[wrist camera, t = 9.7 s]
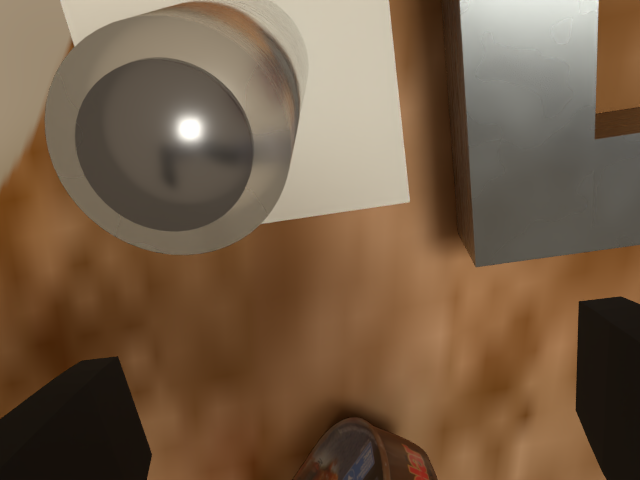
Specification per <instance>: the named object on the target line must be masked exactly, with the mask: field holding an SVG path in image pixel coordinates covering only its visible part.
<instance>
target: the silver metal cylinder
mask: <svg viewBox="0 0 640 480" xmlns="http://www.w3.org/2000/svg"><path fill="white" fill-rule="evenodd" d="M308 72H309V62H308V54H307V50H306V46H305V42H304V40H303V37H302V35H301V33H300V31H299V29H298V27H297V26H296V24H295V23H294V22H293V20H292V19H291V18H290V16H289V15H288V14H287V13H286V12H285V11H284V10H283V9H281V8H280V7H279V6H278V5H277V4H275V3H273V2H272V1H270V0H191V1H187V2H184V3H180V4H176V5H173V6H169V7H166V8H162V9H158V10H155V11H151V12H148V13H144V14H140V15H137V16H133V17H130V18H126V19H123V20H119V21H115V22H112V23H110V24H108V25H106V26H104V27H101V28H99V29H97V30H96V31H94V32H93V33H91V34H90V35H88V36H87V37H85V38H84V39H83V40H82V41H80V42H79V43H78V44H77V45H76V46H75V47H74V48H73V49H72V50H71V51H70V53H69V54H68V55H67V56H66V57H65V59H64V60H63V61H62V63H61V65H60V67H59V68H58V70H57V72H56V74H55V76H54V78H53V81H52V83H51V86H50V89H49V93H48V97H47V102H46V109H45V134H46V140H47V146H48V151H49V154H50V157H51V160H52V163H53V166H54V168H55V171H56V173H57V175H58V177H59V179H60V181H61V183H62V184H63V186H64V188H65V189H66V191H67V192H68V194H69V195H70V197H71V198H72V199H73V200H74V202H75V203H76V204H77V206H78V207H79V208H80V209H81V210H82V211H83V212H84V213H85V214H86V215H87V216H88V217H89V218H90V219H91V220H93V221H94V222H95V223H96V224H97V225H99V226H100V227H101V228H103V229H104V230H106V231H107V232H109V233H110V234H112V235H113V236H115V237H117V238H119V239H121V240H123V241H125V242H127V243H129V244H131V245H134V246H137V247H139V248H142V249H145V250H149V251H153V252H157V253H164V254H171V255H192V254H202V253H206V252H211V251H215V250H218V249H221V248H224V247H226V246H229V245H231V244H233V243H235V242H237V241H239V240H241V239H242V238H244V237H245V236H247V235H248V234H249V233H251V232H252V231H253V230H255V229H256V228H257V227H258V226H259V225H260V224H261V223H262V222H263V221H264V220H265V219H266V217H267V216H268V215H269V214H270V213H271V211H272V210H273V208H274V207H275V205H276V203H277V202H278V200H279V198H280V196H281V193H282V191H283V189H284V187H285V183H286V180H287V176H288V173H289V168H290V163H291V158H292V153H293V148H294V144H295V139H296V134H297V129H298V124H299V119H300V114H301V110H302V105H303V100H304V95H305V90H306V85H307V80H308Z"/></svg>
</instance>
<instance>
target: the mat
mask: <svg viewBox="0 0 640 480" xmlns="http://www.w3.org/2000/svg"><path fill="white" fill-rule="evenodd" d="M187 1H191V0H60V2H61V5H62V9H63V11H64V15H65V18H66V21H67V24H68V27H69V31H70V34H71V37H72V40H73V43H74V47H75V46H76V45H77V44H78V43H79V42H80V41H82V40H83V39H84V38H85V37H87V36H88V35H90V34H91V33H93V32H94V31H96V30H97V29H99V28H101V27H104V26H106V25H108V24H110V23H112V22H115V21H119V20H123V19H126V18H130V17H133V16H137V15H140V14H144V13H148V12H151V11H155V10H158V9H162V8H166V7H169V6H173V5H176V4H180V3H184V2H187ZM270 1H272V2H273V3H275V4H277V5H278V6H279V7H280V8H281V9H283V10H284V11H285V12H286V13H287V14H288V15H289V16H290V18H291V19H292V20H293V22H294V23H295V24H296V26H297V27H298V29H299V31H300V33H301V35H302V37H303V40H304V42H305V46H306V50H307V54H308V62H309V72H308V80H307V85H306V90H305V95H304V100H303V105H302V110H301V114H300V119H299V124H298V129H297V134H296V139H295V144H294V148H293V153H292V158H291V163H290V168H289V173H288V176H287V180H286V183H285V187H284V189H283V191H282V193H281V196H280V198H279V200H278V202H277V203H276V205H275V207H274V208H273V210H272V211H271V213H270V214H269V215H268V216H267V217H266V219H265V220H264V221H263V222H262V223H261V224H264V223H271V222H278V221H284V220H291V219H298V218H305V217H312V216H319V215H325V214H332V213H339V212H346V211H353V210H360V209H366V208H373V207H380V206H387V205H394V204H401V203H407V202H410V198H409V188H408V179H407V169H406V160H405V150H404V141H403V131H402V122H401V112H400V103H399V93H398V84H397V74H396V65H395V55H394V46H393V36H392V27H391V18H390V8H389V0H270Z"/></svg>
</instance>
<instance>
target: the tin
mask: <svg viewBox="0 0 640 480" xmlns="http://www.w3.org/2000/svg"><path fill="white" fill-rule="evenodd" d="M293 480H438V479H437V476H436V474H435V471H434V469H433V467H432V464H431V462H430V460H429V458H428V456H427V454H426V453H425V452H424V450H423V449H421V448H420V447H419V446H417V445H416V444H414V443H412V442H410V441H409V440H406V439H404V438H402V437H400V436H398V435H395V434H392V433H390V432H387V431H385V430H382V429H379V428H377V427H374V426H372V425H371V424H370V423H369V422H367V421H366V420H364V419H362V418H358V417H352V418H347V419H344V420H342V421H340V422H338V423H337V424H335V425H334V426H332V427H331V428H330V429H329V430H328V431H327V432H326V433H325V434H324V435H323V436H322V437H321V439H320V440H319V441H318V443H317V444H316V446H315V447H314V448H313V450H312V451H311V453H310V454H309V456H308V457H307V459H306V460H305V462H304V463H303V465H302V466H301V468H300V469H299V471H298V472H297V474H296V476H295V477H294V479H293Z"/></svg>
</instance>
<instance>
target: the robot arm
mask: <svg viewBox="0 0 640 480" xmlns="http://www.w3.org/2000/svg"><path fill="white" fill-rule="evenodd" d="M576 412H577V414H578V417H579V419H580V422H581V424H582V426H583V429H584V431H585V434H586V436H587V438H588V441H589V443H590V445H591V448H592V450H593V452H594V454H595V457H596V459H597V461H598V463H599V466H600V468H601V470H602V472H603V474H604V476H605V477H606V479H607V480H640V304H638V303H635V302H633V301H631V300H628V299H626V298H623V297H613V298H604V299H596V300H587V301H579V315H578V350H577V384H576ZM151 457H152V453H151V450H150V447H149V444H148V442H147V439H146V436H145V433H144V430H143V427H142V424H141V421H140V419H139V416H138V413H137V410H136V407H135V404H134V401H133V398H132V395H131V393H130V390H129V387H128V384H127V381H126V378H125V375H124V372H123V370H122V367H121V364H120V361H119V358H118V356H117V357H109V358H100V359H92V360H84V361H80V362H79V363H77V364H76V365H74V366H72V367H71V368H69V369H68V370H66V371H65V372H63V373H62V374H60V375H59V376H58V377H56V378H55V379H53V380H52V381H51V382H49V383H48V384H46V385H45V386H44V387H42V388H41V389H40V390H38V391H37V392H36V393H34V394H33V395H32V396H30V397H29V398H28V399H26V400H25V401H24V402H22V403H21V404H20V405H18V406H17V407H16V408H15V409H13V410H12V411H11V412H9V413H8V414H7V415H5V416H4V417H3V418H1V419H0V480H147V476H148V471H149V466H150V461H151Z"/></svg>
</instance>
